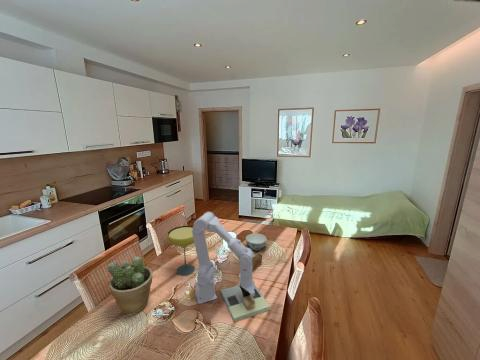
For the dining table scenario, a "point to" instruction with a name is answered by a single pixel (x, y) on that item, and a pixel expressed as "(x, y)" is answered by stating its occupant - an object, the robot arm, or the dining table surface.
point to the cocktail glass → (182, 245)
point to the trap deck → (236, 303)
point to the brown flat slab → (256, 261)
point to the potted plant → (130, 285)
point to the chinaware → (256, 241)
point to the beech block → (249, 302)
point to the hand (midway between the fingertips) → (246, 299)
